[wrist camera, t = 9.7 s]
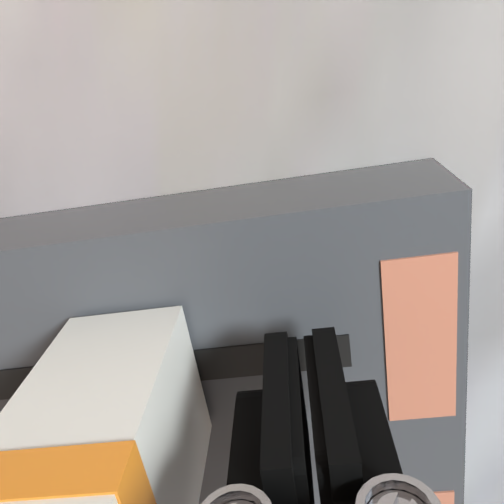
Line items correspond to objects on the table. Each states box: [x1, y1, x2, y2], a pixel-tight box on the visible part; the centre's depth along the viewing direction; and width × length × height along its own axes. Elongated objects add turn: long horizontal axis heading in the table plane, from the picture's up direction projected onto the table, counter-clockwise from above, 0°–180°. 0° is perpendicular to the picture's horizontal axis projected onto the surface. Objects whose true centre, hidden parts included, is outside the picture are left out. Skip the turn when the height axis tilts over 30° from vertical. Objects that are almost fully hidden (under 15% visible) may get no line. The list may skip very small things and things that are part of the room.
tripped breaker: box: [0, 306, 212, 504], centre depth 10 cm, size 3×4×6 cm
